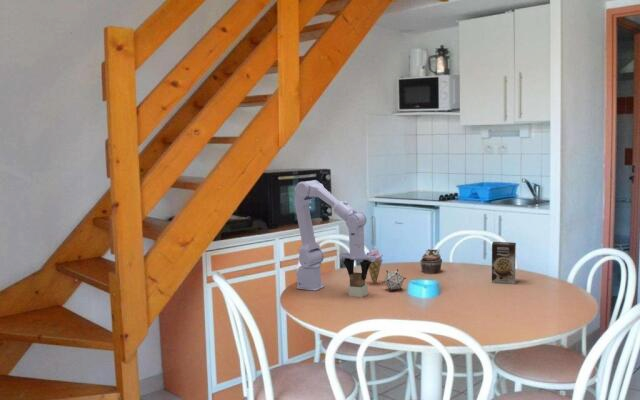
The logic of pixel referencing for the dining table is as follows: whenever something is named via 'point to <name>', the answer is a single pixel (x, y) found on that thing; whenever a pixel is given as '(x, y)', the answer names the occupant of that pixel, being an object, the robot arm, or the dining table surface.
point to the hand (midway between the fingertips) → (357, 278)
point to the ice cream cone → (375, 264)
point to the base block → (358, 291)
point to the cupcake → (431, 262)
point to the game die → (394, 280)
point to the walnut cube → (356, 280)
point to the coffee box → (503, 262)
